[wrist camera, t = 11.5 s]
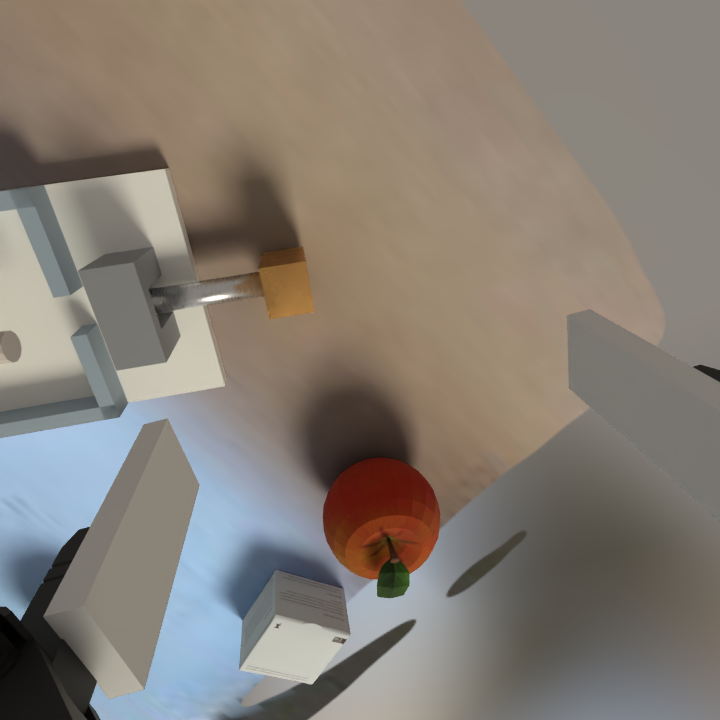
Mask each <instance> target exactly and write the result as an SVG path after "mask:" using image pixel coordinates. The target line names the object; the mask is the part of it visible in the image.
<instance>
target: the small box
mask: <svg viewBox="0 0 720 720" xmlns="http://www.w3.org/2000/svg"><path fill="white" fill-rule="evenodd" d="M349 636H350V628H349V622H348V615H347V609H346V601H345V594H344V589H343V588H339V587H335V586H332V585H328V584H325V583H321V582H318V581H314V580H311V579H307V578H304V577H300V576H297V575H293V574H290V573H286V572H282V571H279V570H275V572H274V573H273V575H272V577H271V578H270V580H269V581H268V583H267V584H266V586H265V587H264V589H263V590H262V592H261V593H260V595H259V596H258V598H257V599H256V601H255V602H254V604H253V605H252V607H251V608H250V610H249V611H248V613H247V614H246V616H245V617H244V619H243V621H242V637H241V651H240V664H239V670H242V671H248V672H253V673H259V674H264V675H269V676H274V677H279V678H285V679H289V680H294V681H298V682H303V683H308V684H313V683H314V681H315V680H316V679H317V678H318V676H319V675H320V674H321V673H322V671H323V670H324V668H325V667H326V666H327V665H328V663H329V662H330V661H331V659H332V658H333V657H334V655H335V654H336V653H337V651H338V650H339V649H340V648H341V646H342V645H343V644H344V642H345V641H346V640H347V639H348V637H349Z"/></svg>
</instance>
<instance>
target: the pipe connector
mask: <svg viewBox="0 0 720 720" xmlns="http://www.w3.org/2000/svg"><path fill="white" fill-rule="evenodd" d="M21 351H22V347H21V343H20V340H19V338H18V336H17V335H16V334H15V333H14V332H12V331H0V364H4V363H13V362H17V361H18V360H19V358H20V357H21Z"/></svg>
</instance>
